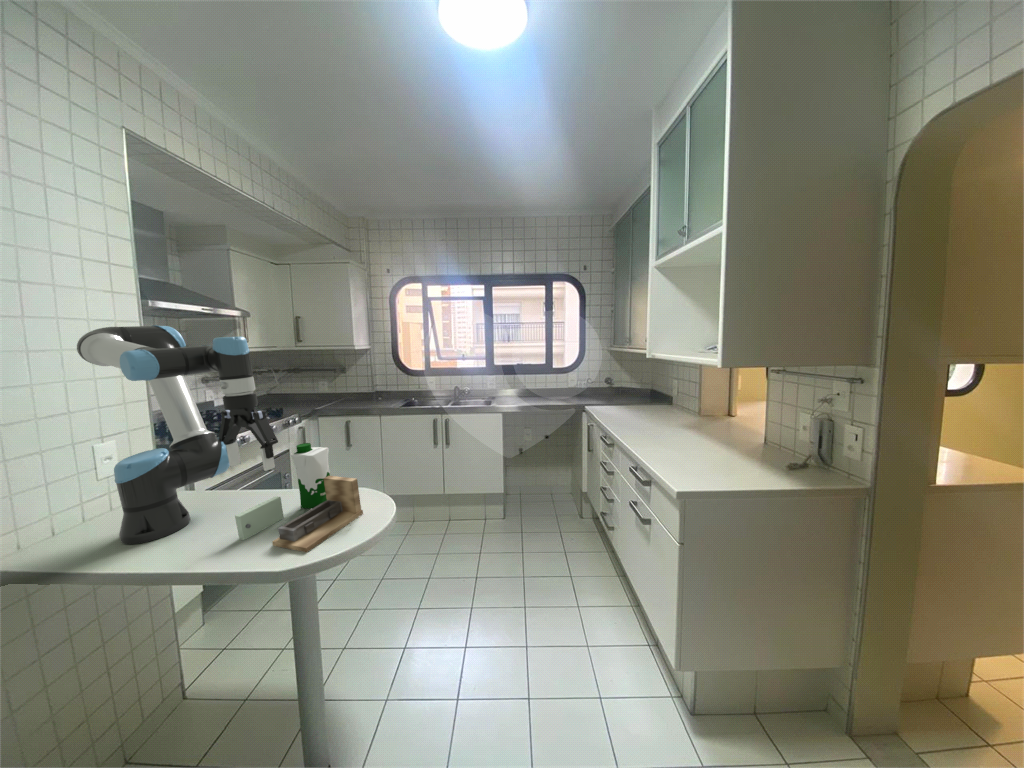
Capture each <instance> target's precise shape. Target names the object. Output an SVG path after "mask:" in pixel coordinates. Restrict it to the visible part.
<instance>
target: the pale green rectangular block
mask: <svg viewBox="0 0 1024 768" xmlns="http://www.w3.org/2000/svg"><path fill="white" fill-rule="evenodd" d="M234 517H235V518H234V519H235V524H236V529H237V534H238V539H239V540H242V541H245V540H247V539H249V538H250V537H252V536H254V535H257V534H258V533H260V532H262V531H263V530H265V529H267V528H269V527H270V526H272V525H274V524H276V523H278V522H280V521H281V520H283V519H284V518H285V517H284V509H283V504H282V499H281V496H277V495H275V496H273V497H271V498H269V499H266V500H265V501H262V502H261V503H258V504H256V505H254V506H252V507H251V508H248V509H246V510H244V511H242V512H239V513H238V514H236V515H234Z"/></svg>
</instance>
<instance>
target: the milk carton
mask: <svg viewBox="0 0 1024 768" xmlns="http://www.w3.org/2000/svg"><path fill="white" fill-rule="evenodd" d="M329 451H330V450H329V447H322V446H316V447H315V446H313V447H312V444H311V443H310V442H304V443H299V444H297V445H296V452H294V453H292V454H290V457H291V459H292V461H293V464H294V467H295V470H296V471H295V473H296V478H297V483H298V484H297V485H298V489H299V491H298V492H299V499H300V508H301V509H309V510H311V509H313V508H314V507H316V506H318V505H320V504H321V503H323V502H325V501H327V498H326V491H325V485H324V478H325V477H327V476H331V474H330V467H329Z"/></svg>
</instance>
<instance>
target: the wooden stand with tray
mask: <svg viewBox="0 0 1024 768" xmlns="http://www.w3.org/2000/svg"><path fill="white" fill-rule="evenodd" d="M324 485H325V491H326V498H327V501H325V502H323V503H321V504H320V505H318V506H316V507H314V508H313V509H309V510H307V511H306V512H304V513H302V514H300V515H299V516H297V517H295V518H293V519H292V520H290V521H288V522H287V523H284V524H283V525H281V526H280V527H277V531H278V537H277V538H276V539H274V540H272V542H271V543H272V546H274V547H279V548H283V549H288V550H294V551H298V552H303V553H308V552H310V551H311V550H313V549H314V548H315V547H317V546H319V545H320V544H321V543H323V542H324V541H326V540H327V539H329V538H331V536H333V535H335V534H336V533H338V532H339V531H340V530H341V529H344V528H345V527H346V526H348V525H349V524H350V523H352V522H353V521H355V520H356V519H358V518H359V517H361V516H362V515H364V509H362V505H361V498H360V491H359V490H360V489H359V483H358V478H355V477H345V476H336V475H335V476H334V475H330V476H327V477H325V478H324Z"/></svg>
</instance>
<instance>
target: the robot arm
mask: <svg viewBox="0 0 1024 768" xmlns="http://www.w3.org/2000/svg"><path fill="white" fill-rule="evenodd" d="M76 352H77V353H78V355H79V356H80V357H81V358H82V359H83V360H85V361H86V362H88V363H90V364H92V365H95V366H100V367H114V368H118V369H119V370H121V372H122V374H123V376H124V377H125V379H126V380H128V381H132V382H136V381H138V382H141V381H147V382H149V384H150V388H151V389H152V392H153V394H154V397H155V399H156V401H157V404H158V406H159V408H160V411H161V413H162V416H163V418H164V420H165V424H166V425H167V428H168V430H169V432H170V435H171V438H172V439H173V441H172V442H171V443H170V444H169V449H170V450H168V449H167V448H163V447H160V448H154V449H151V450H150V449H149V450H145V451H141V452H138V453H136V454H132V455H130V456H127V457H126V458H123V459H122V460H120V461H118V462H117V463H116V464H115V465H114V468H113V472H114V473H113V476H114V483H115V485H116V489H117V492H118V493H117V494H118V497H119V500H120V504H121V507H122V512H123V514H122V520H121V525H120V529H119V539H120V543H122V544H123V545H138V544H143V543H147V542H151V541H155V540H158V539H161V538H165V537H166V536H169V535H172V534H173V533H175V532H178V531H180V530H182V529H183V528H185V527H186V526H187V525H188V524H190V522H191V517H190V513H189V511H188V509H187V508H186V507H185V506H184V504H183V503H182V501H181V500H180V499H179V497H178V493H177V492H178V491H177V489H180V488H182V487H186V486H189V485H192V484H195V483H198V482H201V481H204V480H207V479H211V478H214V477H216V476H219V475H221V474H223V473H226V472H227V471H228V469H229V468H234V467H237V466H239V465H241V464H242V460H241V455H240V448H239V444H238V441H237V437H238V435H239V433H240V430H241V429H242V428H245V429H247V430H249V431H250V433H252V435H253V436H254V437H255V439H256V440H257V441H258V443H259V444H260V445H261V446H260V448H259V449H260V455H261V456H260V457H261V462H262V466H263V471H264V472H267V471H269V470H271V469H274V468H276V465H275V464H276V463H275V458H274V456H275V454H274V449H273V446H274V445H276V444H278V443H279V440H278V438H277V436H276V434H275V432H274V430H273V429H272V426H271V424H270V423H269V420H268V419H267V417H266V412H265V410H263V409H262V410H258V411H257V410H256V408H255V407H256V406H257V405H258V404H259V402H258V395H257V393H256V392H255V391H256V382H255V378H254V374H253V367H252V360H251V359H252V358H251V353H250V348H249V344H248V340H247V338H246V337H244V336H242V335H241V336H224V337H223V336H222V337H214V338H213V340H212V344H205V345H195V346H187V345H186V341H185V340H184V338H183V335H181V333H180V332H179V331H178V330H176V329H175V328H174V327H171V326H169V325H157V324H155V325H154V324H152V325H150V326H149V325H144V326H143V325H142V326H141V325H140V326H139V325H138V326H137V325H136V326H134V325H133V326H106V327H101V328H97V329H94V330H91V331H88V332H86V333H84V335H82V336H81V337H80V338H79V339H78V341H77V344H76ZM209 373H217V374H218V380H219V387H220V390H221V394H222V395H223V397H222V401H223V408H224V409H225V410H222V411H221V413H220V415H221V424H220V426H219V427H220V428H219V429H220V430H219V433H218V434H219V435H218V438H217V436H216V434H215V431H210V430H208V429H207V427H206V424H205V423H204V419H203V417H202V415H201V412H200V411H199V408H198V406H197V404H196V403H197V402H196V401H195V399H194V395H193V394H192V391H191V389H190V386H189V385H188V383H187V380H186V376H191V375H200V374H209Z"/></svg>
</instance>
